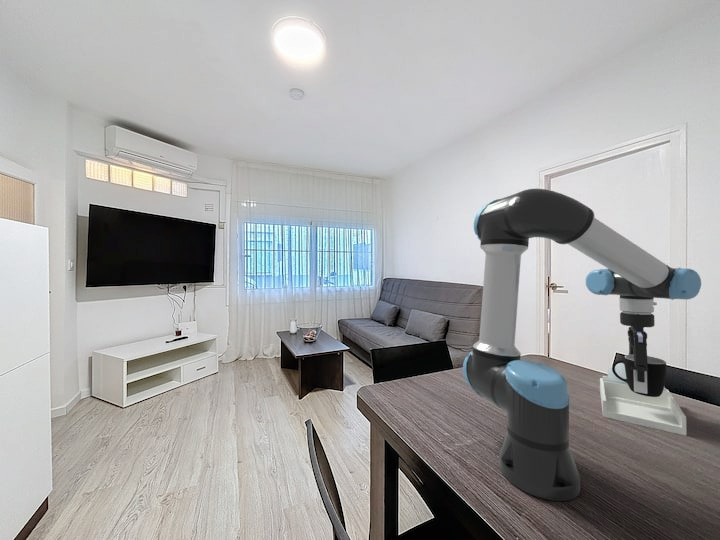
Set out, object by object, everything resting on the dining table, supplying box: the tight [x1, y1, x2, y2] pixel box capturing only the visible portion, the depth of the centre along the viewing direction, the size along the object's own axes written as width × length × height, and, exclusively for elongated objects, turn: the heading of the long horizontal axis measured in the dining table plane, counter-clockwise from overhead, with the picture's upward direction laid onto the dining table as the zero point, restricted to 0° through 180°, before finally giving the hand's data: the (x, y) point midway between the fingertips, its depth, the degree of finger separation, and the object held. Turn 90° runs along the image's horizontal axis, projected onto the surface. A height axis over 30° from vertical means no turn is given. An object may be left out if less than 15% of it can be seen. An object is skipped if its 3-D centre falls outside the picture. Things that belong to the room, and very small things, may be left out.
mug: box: [611, 354, 667, 397], centre depth 88 cm, size 12×9×10 cm
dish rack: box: [599, 375, 687, 437], centre depth 91 cm, size 22×17×6 cm
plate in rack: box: [607, 363, 628, 385], centre depth 96 cm, size 1×13×13 cm, turn 52°
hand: (638, 386), depth 87 cm, fingers closed on mug, 9 cm apart
